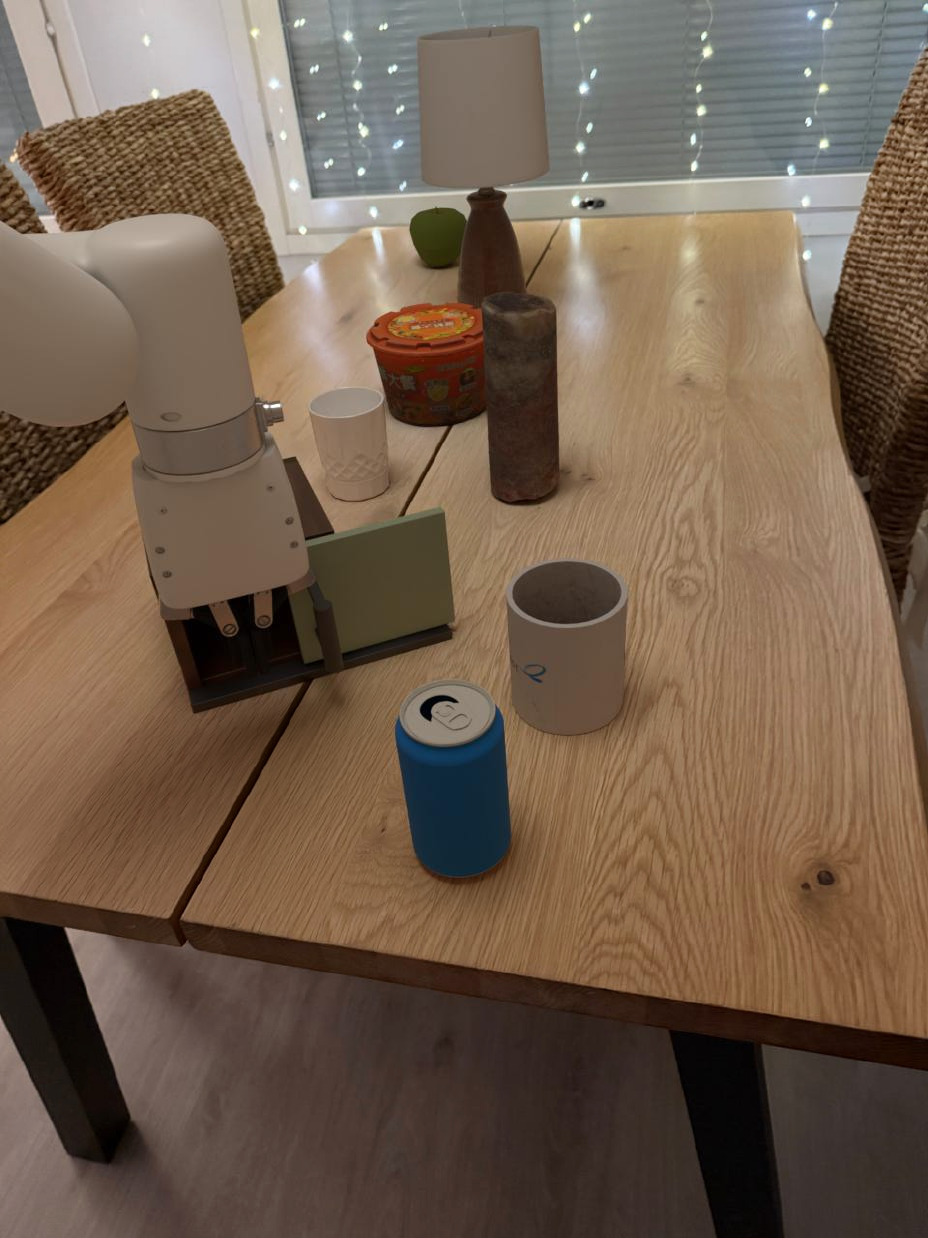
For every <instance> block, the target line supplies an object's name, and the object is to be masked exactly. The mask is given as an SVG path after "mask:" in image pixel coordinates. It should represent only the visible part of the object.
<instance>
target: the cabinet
mask: <svg viewBox="0 0 928 1238" xmlns="http://www.w3.org/2000/svg"><path fill="white" fill-rule="evenodd" d="M282 459H283V463H284V466H285V470H286V473H287V476H288V479H289V482H290V485H291V488H292V490H293V494H294V498H295V501H296V505H297V509H298V513H299V517H300V521H301V525H302V529H303V533H304V538H305V541H307V540H311V539H315V538H319V537H323V536H327V535H331V534H335V532H336V531H335V528H334V527H333V524H332V523H331V521H330V519H329V517H328V515H327V514H326V512H325V510H324V508H323V506H322V504H321V502H320V500H319V498H318V496H317V494H316V493H315V491H314V489H313V486H312V485H311V483H310V481H309V479H308V477H307V475H306V473H305V471H304V469H303V468H302V466H301V464H300V461H299V460H298V458H297V456H296V455H295V456H290V457H286V458H282ZM141 533H142V531H141ZM141 536H142V535H141ZM142 538H143V536H142ZM142 542H143V546H144V553H145V559H146V564H147V570H148V576H149V578H150V583H151V585H152V587H153V591H154V594H155V596H156V600H157V602H158V604H159V593H158V590H157V587H156V585H155V581H154V578H153V575H152V571H151V567H150V563H149V559H148V555H147V552H146V548H145V544H144V540H143V539H142ZM229 600H230V603H231V605H232V607H233V608H234V609H236V610H238V612H239V614H242V617H243V620H244V623H245V627H246V630H247V633H248V629H247V625H246V621H245V617H244V613H246V608H247V606H248V605H249V602H248V595H244V596H240V597H236V598H232V599H229ZM163 621H164V623H165V626H166V630H167V633H168V635H169V639H170V642H171V644H172V647H173V650H174V653H175V656H176V660H177V663H178V665H179V668H180V671H181V674H182V678H183V681H184V684H185V687H186V690H187V693H188V698H189V702H190V703H189V704H190V707H191V710H192V713H193V714H196V713H199V712H202V711H206V710H209V709H212V708H217V707H219V706H223V705H227V704H230V703H233V702H237V701H240V700H244V699H247V698H250V697H254V696H258V695H261V694H264V693H265V694H266V693H268V692H272V691H275V690H279V689H282V688H285V687H289V686H293V685H297V684H300V683H303V682H306V681H309V680H313V679H317V678H320V677H323V676H326V675H330V674H331V673H329V672H327V671H326V668H325V663H324V659H321V660H317V661H314V662H310V663H307V664H305V663H304V661H303V658H302V654H301V650H300V646H299V641H298V637H297V633H296V628H295V624H294V619H293V615H292V611H291V606H290V602H289V598H288V596H287V598H286V599H285V600H284V602H283V603H282V604H281V606H280V607H279V608H278V610H277V611H276V612H275V614H274V615H273V616H272V623H271V625H270V626H269V629H270V633H271V638H272V642H273V647H274V651H275V655H273V656H269V657H266V658H267V662H268V667H269V671H270V673H269V674H265V675H263V674H260V673H259V670H258V667H257V664H256V660H255V657H254V654H253V657H254V661H255V666H256V670H257V674H258V675H255V677H254V678H250V679H248V676H247V673H246V669H245V666H244V663H242V664H238V665H234V662H233V659H232V655H231V651H230V647H229V644H228V640H227V636H224V635H223V634H222V632H221V630H219V629H217V628H215V627H213V626H210V625H208V624H206V623H204V622H202V621H199V620H197V619H196V618H190V619H186V620H164V619H163ZM248 637H249V634H248ZM452 639H453V631H452V629H451V627H450V626H449V623H447V624H444V625H440V626H437V627H433V628H429V629H426V630H422V631H419V632H415V633H412V634H408V635H405V636H401V637H398V638H394V639H391V640H387V641H384V642H380V643H377V644H373V645H370V646H366V647H363V648H359V649H356V650H352V651H349V652H345V653H342V659H343V664H344V667H343V669H342V670H341V671H345V670H348V669H352V668H354V667H358V666H361V665H365V664H368V663H371V662H375V661H379V660H382V659H386V658H389V657H393V656H396V655H399V654H403V653H407V652H410V651H413V650H416V649H420V648H423V647H427V646H431V645H434V644H438V643H442V642H444V641H449V640H452ZM249 641H250V638H249ZM250 645H251V642H250ZM251 649H252V646H251ZM252 653H253V650H252Z"/></svg>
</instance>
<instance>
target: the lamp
mask: <svg viewBox="0 0 928 1238" xmlns="http://www.w3.org/2000/svg"><path fill="white" fill-rule="evenodd" d="M416 48H417V49H416V52H417V53H416V54H417V76H418V77H417V79H418V80H417V82H418V111H419V112H418V113H419V114H418V115H419V137H420V138H419V140H420V142H419V143H420V169H421V170H420V171H421V172H420V173H421V180H422V182H423V183H425V184H427V185H429V186H433V187H437V188H447V189H477V190H476V191H473V192H471V193H469V194H467V196H466V198H465V200H466V201H467V203H468V205H469V207H470V212H469V214H468V217H467V219H466V220H467V223H466V226H465V230H464V234H463V238H462V244H461V251H460V257H459V262H458V273H457V274H458V275H457V279H458V280H457V286H456V287H457V297H456V298H457V299H456V303H463V304H469V305H472V306H473V308H474V309H479V308H481V304H482V301H483V298H484V297H487V296H490V295H493V294H497V293H500V292H514V293H520V294H528V290H527V283H526V276H525V273H524V266H523V262H522V261H523V260H522V255H521V250H520V246H519V245H520V244H519V242H518V239H517V235H516V231H515V229H514V226H513V224H512V221H511V219H510V216H509V214H508V212H507V210H506V208H505V202H506V201H507V198H508V194H507V193H506V192H505V191H503V190H499V189H495V188H496V187H504V186H510V185H516V184H521V183H526V182H529V181H533V180H535V179H538V178H540V177H543V176H544V175H546V174H547V173H548V172H549V171H550V156H549V155H550V153H549V141H548V128H547V116H546V102H545V101H546V100H545V89H544V76H543V63H542V50H541V38H540V27H538V26H537V25H528V24H527V25H526V24H525V25H524V24H520V25H519V24H518V25H517V24H514V25H513V24H512V25H494V26H493V25H492V26H478V27H468V28H467V27H466V28H459V29H451V30H444V31H438V32H437V31H435V32H432V33H426V34H422V35H419V36H418V37H416Z"/></svg>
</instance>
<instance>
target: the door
mask: <svg viewBox="0 0 928 1238" xmlns="http://www.w3.org/2000/svg"><path fill="white" fill-rule="evenodd" d="M447 534H448V532H447V521H446V512H445V511H444V509H443V508H442V507H441V506H439V507H433V508H430V509H426V510H422V511H419V512H415V513H410V514H407V515H403V516H398V517H395V518H391V519H388V520H387V519H386V520H382V521H378V522H375V523H371V524H368V525H367V524H366V525H363V526H359V527H355V528H350V529H347V530H343V531H340V532H339V531H338V532H336V533H335V534H331V535H327V536H323V537H319V538H315V539H311V540H307V541H305V542H306V547H307V552H308V559H309V565H310V567H311V569H312V571H313V573H314V576H315V582H314V584H312V585H311V586H308V587H306V588H304V589H302V590H300V591H298V592H296V593H294V594H292V593H291V594H289V595H288V598H289V602H290V606H291V611H292V615H293V619H294V624H295V628H296V633H297V637H298V641H299V646H300V650H301V654H302V658H303V661H304V663H305V664H307V663H310V662H314V661H317V660H321V659H324V663H325V668H326V671H327V672H329V673H330V674H337V673H340V672H342V671H343V670H342V669H343V667H344V664H343V659H342V653H345V652H349V651H352V650H356V649H359V648H363V647H366V646H370V645H373V644H377V643H380V642H384V641H387V640H391V639H394V638H398V637H401V636H405V635H408V634H412V633H415V632H419V631H422V630H426V629H429V628H433V627H437V626H440V625H444V624H450V623H453V622H456V616H455V604H454V603H455V602H454V594H453V583H452V574H451V573H452V572H451V563H450V554H449V543H448V535H447Z"/></svg>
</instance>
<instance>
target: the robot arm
mask: <svg viewBox="0 0 928 1238" xmlns="http://www.w3.org/2000/svg"><path fill="white" fill-rule="evenodd" d="M236 295H237V294H236V288H235V283H234V279H233V273H232V268H231V263H230V258H229V253H228V249H227V245H226V242H225V240H224V238H223V235H222V234H221V232H220V230H219V229H218V228H217V227H216V226H215V225H214V224H213V223H212V222H211V221H209V220H207V219H206V218H204V217H202V216H197V215H192V214H187V213H157V214H156V213H155V214H146V215H139V216H134V217H130V218H125V219H120V220H118V221H114V222H111V223H108V224H107V225H104V226H103V227H101V228H97V229H92V230H78V231H66V232H52V233H51V232H47V233H46V232H45V233H44V232H43V233H21V232H19V231H17V230H16V229H14V228H12V227H11V226H9V225H8V224H7V223H5V222H3V221H2V220H0V411H2V412H3V413H4V412H5V413H6V414H9V415H11V416H14V417H15V418H18V419H20V420H24V421H27V422H30V423H34V424H38V425H43V426H48V427H60V428H61V427H62V428H71V427H77V426H83V425H84V426H85V425H88V424H90V423H93V422H94V423H95V422H97V421H99V420H101V419H103V418H105V417H106V416H108V415H109V414H111V413H113V412H114V411H115V410H116V409H117V408H119V407H120V406H121V405H122V404H123V403H124V402H125V404H126V409H127V413H128V416H129V420H130V422H131V426H132V430H133V433H134V437H135V440H136V444H137V447H138V451H139V453H138V454H137V455H136V456H134V458H132V460H131V482H132V489H133V490H132V491H133V498H134V503H135V508H136V513H137V518H138V522H139V527H140V530H141V531H142V532H141V536H143V537H142V541H143V540H144V543H143V545H144V544H145V548H146V552H147V555H148V559H149V563H150V567H151V571H152V575H153V578H154V581H155V585H156V587H157V590H158V593H159V603H158V610H159V615H160V618H161V619H162V620H163V621H164V620H186V619H190V618H196V619H197V620H199V621H202V622H204V623H206V624H208V625H210V626H213V627H215V628H217V629H219V630H221V632H222V634H223V635H224V636H227V640H228V644H229V647H230V651H231V655H232V659H233V662H234V665H238V664H242V663H244V666H245V669H246V673H247V676H248V679H250V678H254V677H255V675H258V674H257V670H256V666H255V661H254V657H255V660H256V664H257V667H258V670H259V673H260V674H263V675H265V674H269V673H270V671H269V667H268V662H267V658H266V657H269V656H273V655H275V651H274V647H273V642H272V638H271V633H270V629H269V626H270V625H271V623H272V616H273V615H274V614H275V612H276V611H277V610H278V608H279V607H280V606H281V604H282V603H283V602H284V600H285V599H286V598H287V596H288V595H289V594H291V593H292V594H294V593H296V592H298V591H300V590H302V589H304V588H306V587H308V586H311V585H312V584H314V582H315V576H314V573H313V571H312V569H311V567H310V565H309V559H308V552H307V547H306V542H305V538H304V533H303V529H302V525H301V521H300V517H299V513H298V509H297V505H296V501H295V498H294V494H293V490H292V488H291V485H290V482H289V479H288V476H287V473H286V470H285V466H284V463H283V459H284V458H283V456H282V453H281V451H280V448H279V446H278V443H277V441H276V439H275V437H274V436H273V434H272V433H271V432H269V429H268V427H269V428H270V427H273V426H274V424H277V423H282V422H284V421H285V415H284V410H283V406H282V404H281V401H280V400H274V401H268V400H267V399H266V400H262V399H261V398H260V396H256V392H255V387H254V381H253V376H252V372H251V371H252V370H251V366H250V361H249V355H248V351H247V346H246V339H245V335H244V330H243V325H242V320H241V315H240V310H239V304H238V299H237V296H236ZM145 548H144V549H145ZM244 595H248V602H249V605H248V606H247V608H246V613H244V617H245V621H246V625H247V629H248V633H247V630H246V627H245V623H244V620H243V617H242V614H239V612H238V610H236V609H234V608H233V607H232V605H231V603H230V600H229V599H232V598H236V597H240V596H244ZM248 634H249V637H248ZM249 638H250V641H249ZM250 642H251V645H250ZM251 646H252V649H251ZM252 650H253V653H252ZM253 654H254V657H253Z"/></svg>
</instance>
